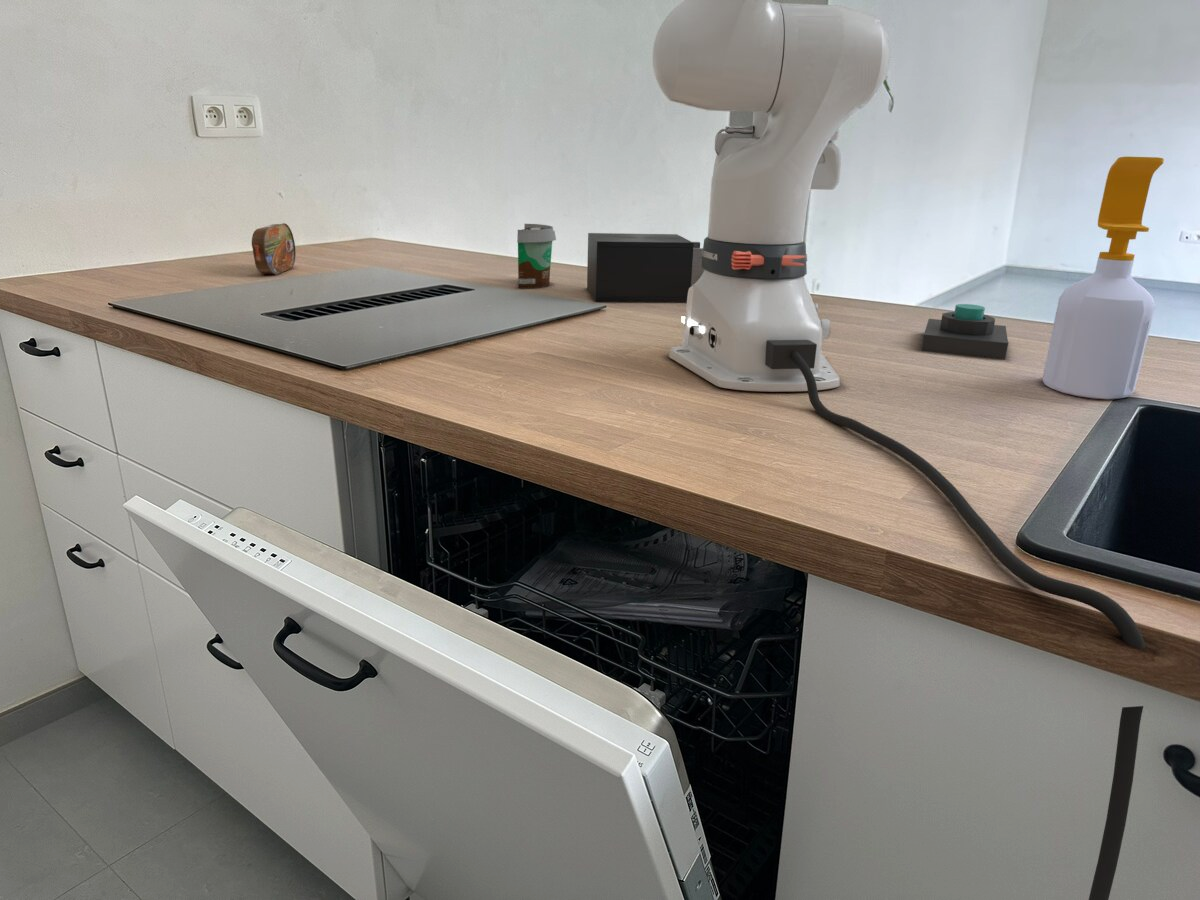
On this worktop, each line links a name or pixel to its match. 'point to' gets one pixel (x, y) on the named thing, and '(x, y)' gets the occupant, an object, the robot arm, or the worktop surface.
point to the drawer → (696, 263)
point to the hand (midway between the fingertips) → (772, 217)
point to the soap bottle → (1106, 300)
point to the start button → (969, 311)
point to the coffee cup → (534, 255)
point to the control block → (966, 337)
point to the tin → (273, 249)
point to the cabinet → (639, 267)
